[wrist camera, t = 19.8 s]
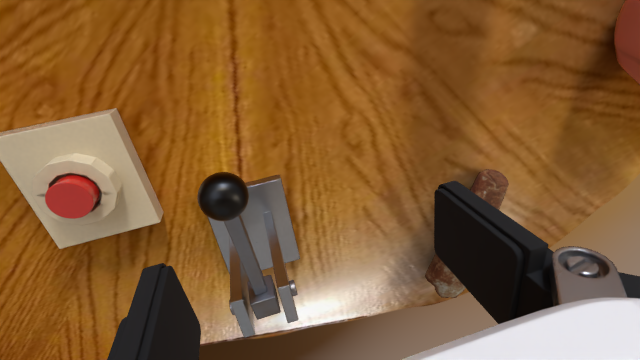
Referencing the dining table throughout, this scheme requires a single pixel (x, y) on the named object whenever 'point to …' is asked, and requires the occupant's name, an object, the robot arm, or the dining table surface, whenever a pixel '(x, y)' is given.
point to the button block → (82, 174)
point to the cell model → (628, 38)
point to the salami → (492, 191)
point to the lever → (239, 235)
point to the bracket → (261, 249)
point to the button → (72, 196)
